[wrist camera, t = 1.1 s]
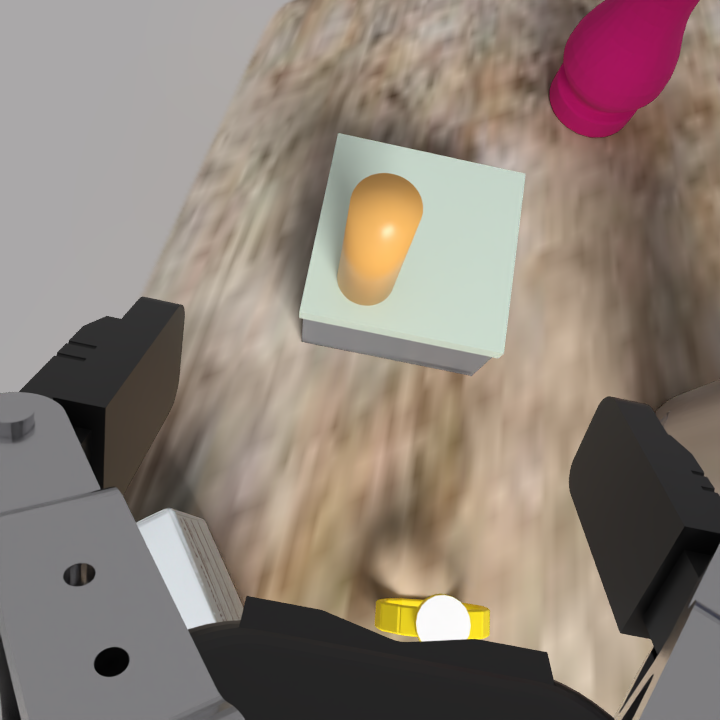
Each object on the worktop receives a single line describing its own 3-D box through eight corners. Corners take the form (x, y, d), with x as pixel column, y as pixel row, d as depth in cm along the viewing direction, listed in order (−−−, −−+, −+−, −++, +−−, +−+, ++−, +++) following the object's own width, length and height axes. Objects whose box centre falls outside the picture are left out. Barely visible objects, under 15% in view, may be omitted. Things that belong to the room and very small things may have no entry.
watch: (371, 634, 37) (377, 651, 32) (374, 583, 38) (380, 590, 32) (476, 641, 37) (500, 659, 32) (477, 590, 38) (501, 598, 32)
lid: (515, 189, 41) (584, 81, 31) (493, 362, 38) (563, 300, 28) (336, 150, 40) (350, 28, 31) (298, 322, 37) (301, 246, 28)
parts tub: (492, 222, 45) (516, 184, 40) (471, 375, 42) (495, 354, 37) (334, 189, 44) (339, 146, 39) (301, 341, 41) (303, 315, 36)
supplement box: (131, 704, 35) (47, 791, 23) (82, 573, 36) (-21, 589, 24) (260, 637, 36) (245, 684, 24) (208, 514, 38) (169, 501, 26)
